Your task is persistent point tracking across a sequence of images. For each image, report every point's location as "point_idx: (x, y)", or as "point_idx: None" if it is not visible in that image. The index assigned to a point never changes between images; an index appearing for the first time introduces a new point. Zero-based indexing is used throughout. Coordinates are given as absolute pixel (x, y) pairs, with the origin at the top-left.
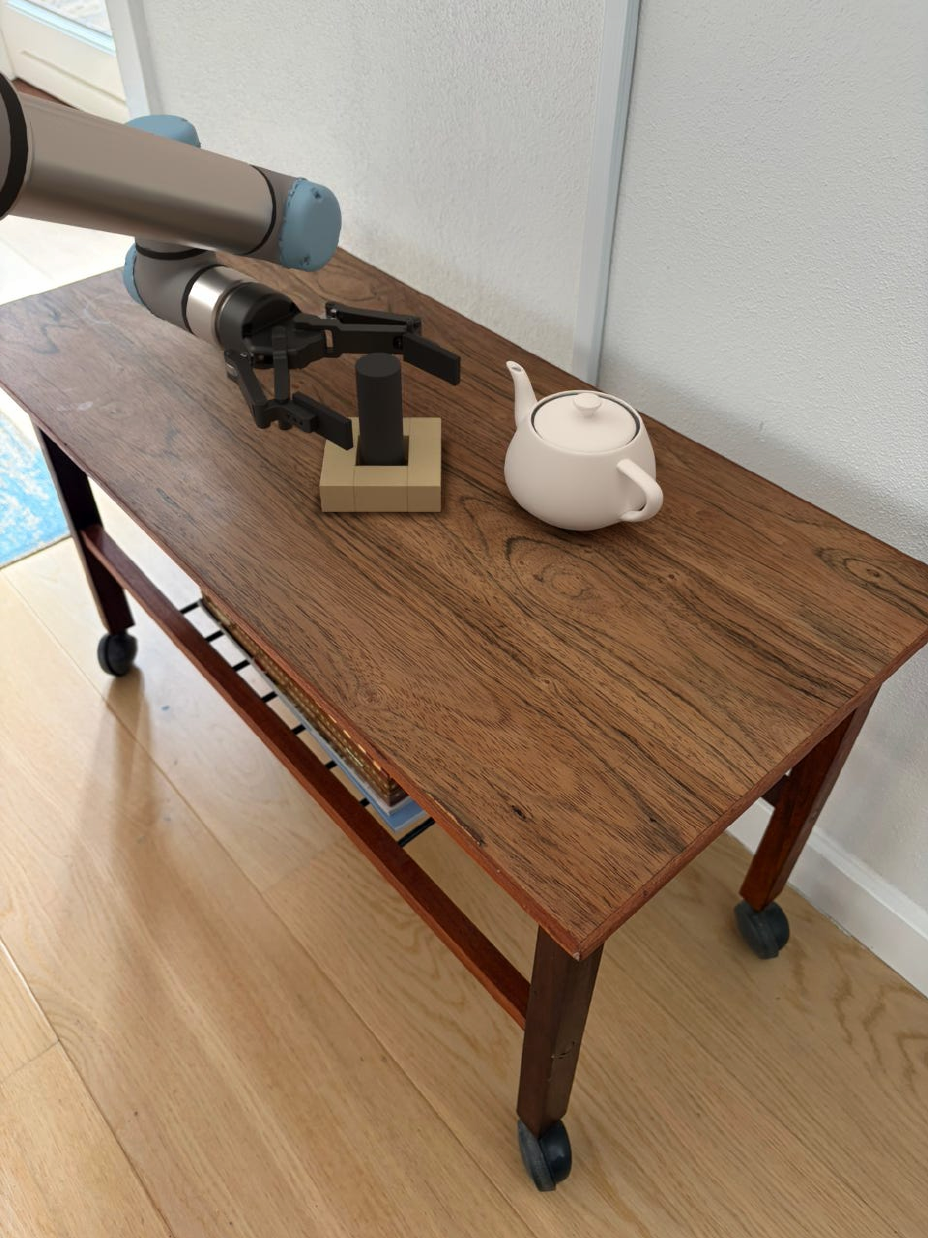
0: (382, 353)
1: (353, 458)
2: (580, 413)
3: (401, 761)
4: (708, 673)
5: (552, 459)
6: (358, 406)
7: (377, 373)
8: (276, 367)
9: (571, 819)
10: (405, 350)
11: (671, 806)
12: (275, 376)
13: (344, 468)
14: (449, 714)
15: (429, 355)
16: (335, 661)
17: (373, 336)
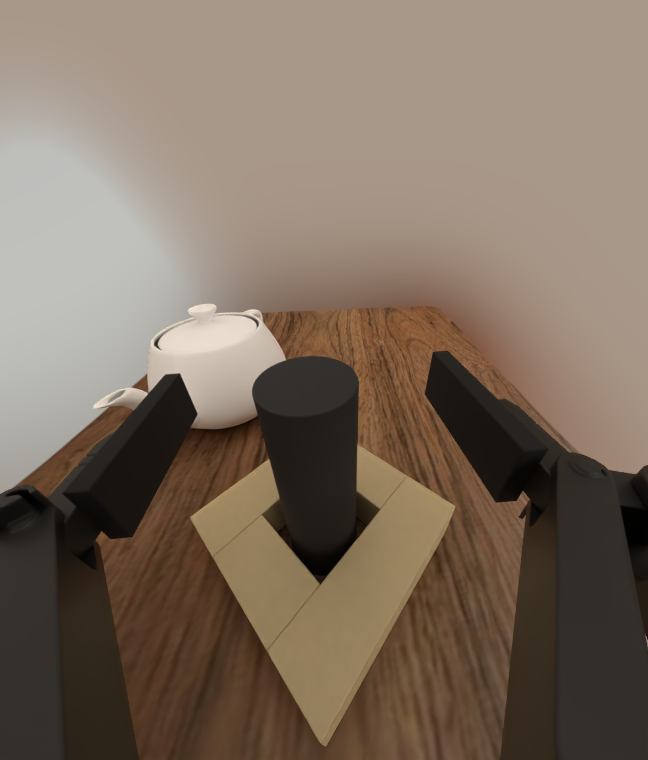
0: (260, 400)
1: (372, 526)
2: (210, 320)
3: (472, 344)
4: (317, 325)
5: (267, 331)
6: (354, 463)
7: (330, 366)
8: (634, 681)
9: (414, 317)
10: (120, 508)
11: (378, 312)
12: (627, 594)
13: (399, 514)
14: (435, 348)
15: (156, 428)
16: (492, 387)
17: (74, 616)
